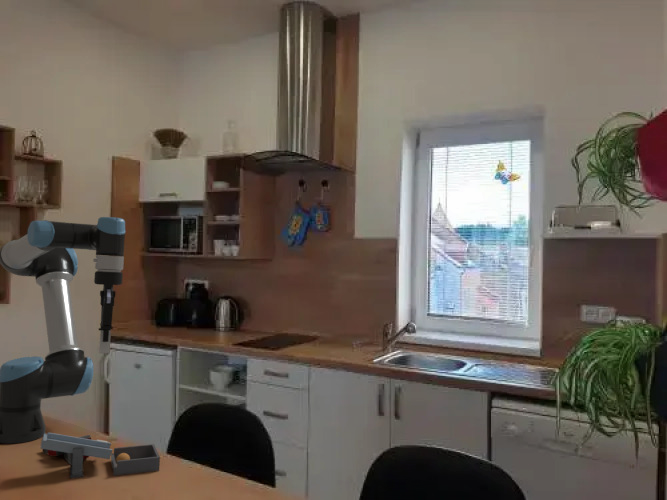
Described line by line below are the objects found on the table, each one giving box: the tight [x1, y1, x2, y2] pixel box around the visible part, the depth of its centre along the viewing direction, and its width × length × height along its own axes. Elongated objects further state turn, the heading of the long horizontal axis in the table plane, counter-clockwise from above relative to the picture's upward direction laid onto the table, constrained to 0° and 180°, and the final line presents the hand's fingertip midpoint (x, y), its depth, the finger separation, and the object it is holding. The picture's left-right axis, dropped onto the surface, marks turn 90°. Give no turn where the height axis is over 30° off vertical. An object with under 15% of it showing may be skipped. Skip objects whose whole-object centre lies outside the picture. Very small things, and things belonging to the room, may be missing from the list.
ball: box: [116, 453, 130, 465], centre depth 150 cm, size 4×4×4 cm
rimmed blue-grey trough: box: [40, 432, 113, 460], centre depth 148 cm, size 12×17×2 cm
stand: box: [69, 447, 84, 479], centre depth 145 cm, size 9×3×7 cm, turn 25°
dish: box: [110, 443, 161, 476], centre depth 151 cm, size 11×11×4 cm
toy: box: [42, 434, 92, 465], centre depth 156 cm, size 9×6×15 cm
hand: (104, 352), depth 161 cm, fingers closed
